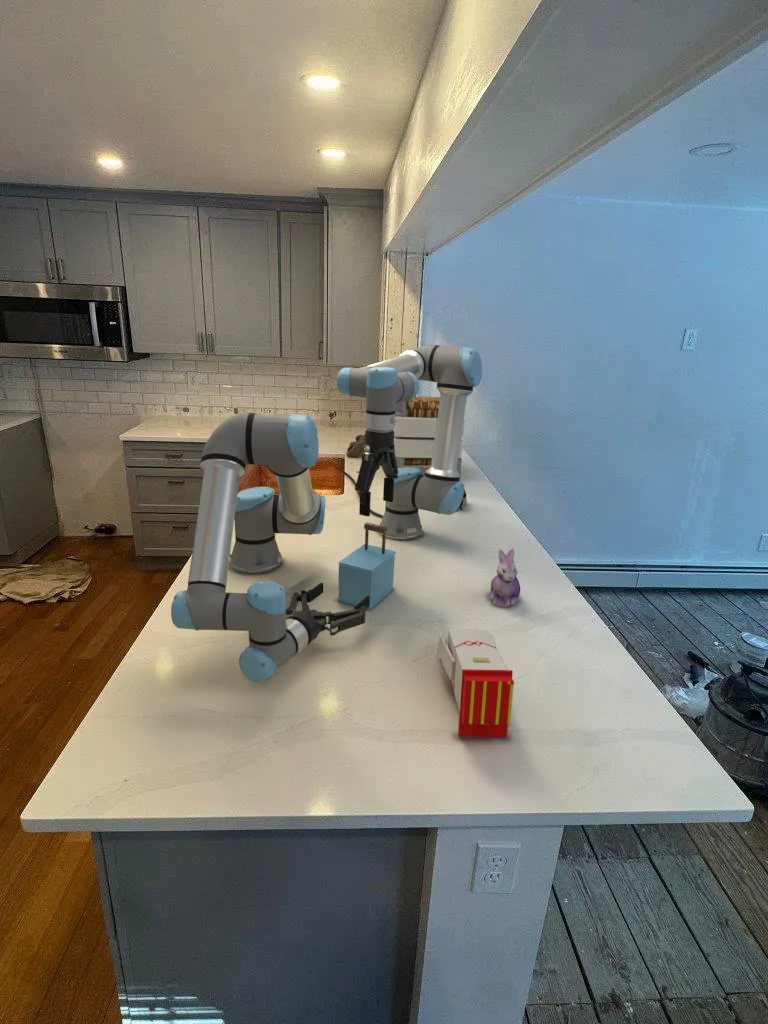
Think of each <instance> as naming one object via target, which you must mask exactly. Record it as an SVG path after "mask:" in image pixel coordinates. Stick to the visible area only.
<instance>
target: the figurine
mask: <svg viewBox="0 0 768 1024" xmlns="http://www.w3.org/2000/svg"><path fill="white" fill-rule="evenodd" d="M514 558H515V548H514V547H512V548H511V549H509V551H508V553H507V555H506V554H505V551H503V549H501V548H499V549H498V565H497V568H496V574H497V575H495V576H494V577H493V578H492V579H491V582H490V591H489V599H490V600H491V601H492V602H493V604H494V605H495V606H497V607H503V608H507V607H510V606H514V605H516V603H518V601H519V597H520V594H521V584H520V581H519V579H518V577H517V576H518V569H517V567H516V564H515V561H514Z"/></svg>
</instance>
